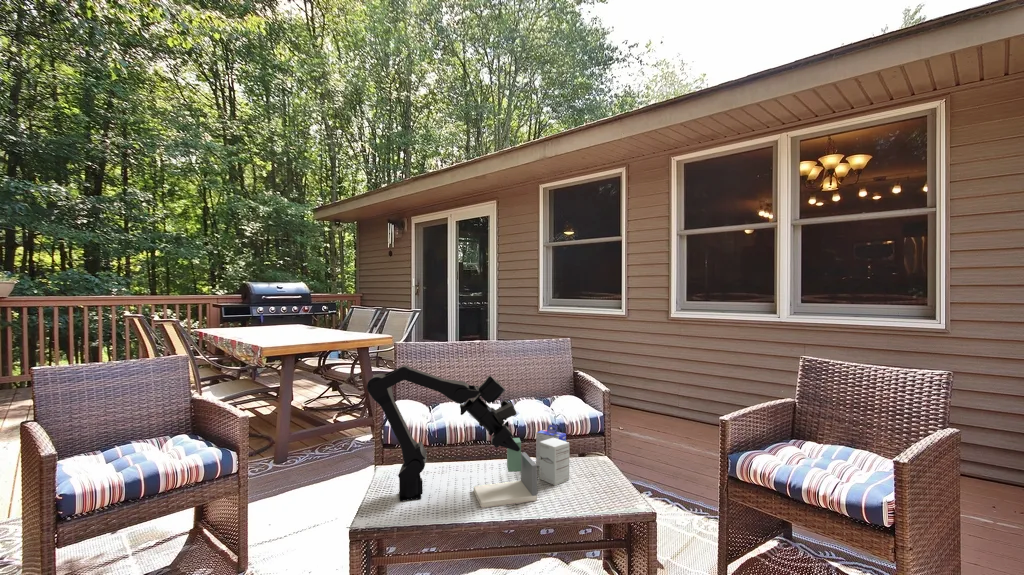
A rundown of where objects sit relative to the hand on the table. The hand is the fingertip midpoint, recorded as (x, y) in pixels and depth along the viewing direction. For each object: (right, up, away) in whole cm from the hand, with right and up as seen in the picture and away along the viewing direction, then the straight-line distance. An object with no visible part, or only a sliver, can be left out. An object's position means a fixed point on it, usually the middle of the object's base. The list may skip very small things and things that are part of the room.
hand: (518, 447), depth 147 cm
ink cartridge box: (+12, -14, +20) cm, 27 cm away
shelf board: (-4, -13, -3) cm, 15 cm away
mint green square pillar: (-1, -7, 0) cm, 7 cm away
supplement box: (+12, -14, +8) cm, 20 cm away
